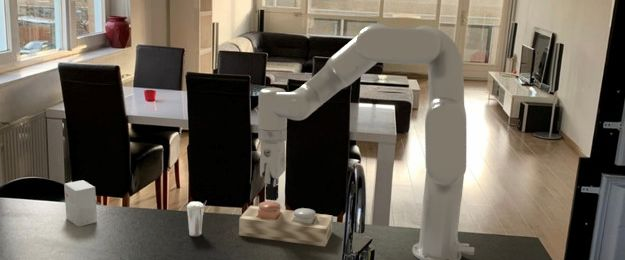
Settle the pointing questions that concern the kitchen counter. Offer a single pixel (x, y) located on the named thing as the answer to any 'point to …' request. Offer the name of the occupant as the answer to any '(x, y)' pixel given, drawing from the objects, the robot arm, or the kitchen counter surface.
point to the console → (286, 227)
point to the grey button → (304, 216)
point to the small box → (80, 203)
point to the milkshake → (195, 218)
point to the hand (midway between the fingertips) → (271, 199)
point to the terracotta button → (269, 210)
